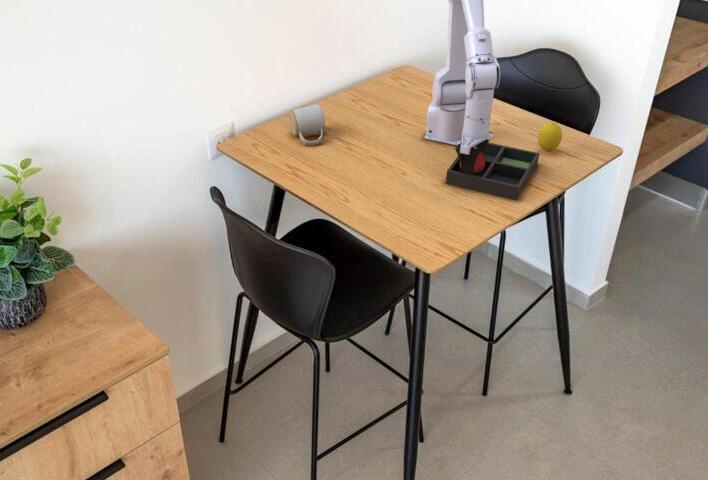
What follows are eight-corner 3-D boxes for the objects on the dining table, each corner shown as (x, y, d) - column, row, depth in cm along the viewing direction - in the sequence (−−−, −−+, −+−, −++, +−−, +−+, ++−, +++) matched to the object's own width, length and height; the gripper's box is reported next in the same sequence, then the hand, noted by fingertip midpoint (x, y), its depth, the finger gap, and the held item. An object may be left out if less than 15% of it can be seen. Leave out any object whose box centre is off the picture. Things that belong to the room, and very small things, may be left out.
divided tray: (445, 183, 181) (446, 170, 179) (469, 150, 192) (470, 138, 190) (517, 200, 174) (519, 187, 172) (537, 165, 186) (539, 153, 184)
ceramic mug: (289, 129, 204) (287, 103, 200) (318, 125, 206) (317, 98, 201) (299, 149, 197) (298, 122, 192) (329, 144, 198) (329, 117, 193)
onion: (455, 170, 184) (459, 141, 179) (479, 168, 184) (483, 139, 179) (461, 183, 179) (465, 153, 174) (486, 181, 180) (490, 151, 175)
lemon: (559, 157, 188) (565, 128, 183) (536, 156, 189) (541, 127, 184) (558, 146, 192) (563, 117, 187) (535, 145, 193) (540, 116, 188)
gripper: (484, 132, 165) (477, 185, 174) (504, 104, 175) (497, 156, 183) (453, 125, 168) (448, 178, 177) (475, 98, 178) (469, 150, 186)
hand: (471, 167), depth 180 cm, fingers closed on onion, 6 cm apart
